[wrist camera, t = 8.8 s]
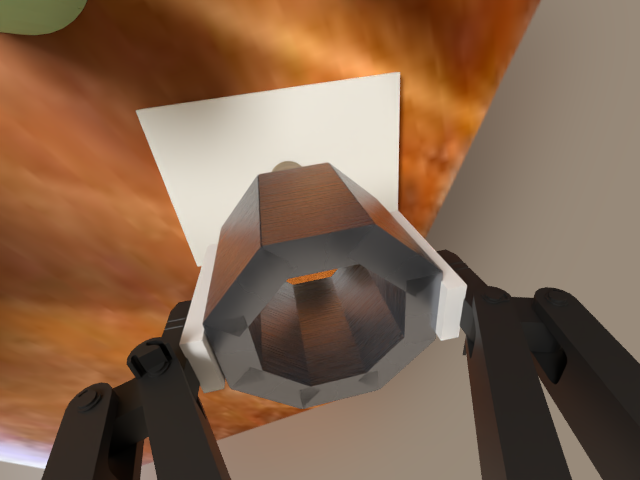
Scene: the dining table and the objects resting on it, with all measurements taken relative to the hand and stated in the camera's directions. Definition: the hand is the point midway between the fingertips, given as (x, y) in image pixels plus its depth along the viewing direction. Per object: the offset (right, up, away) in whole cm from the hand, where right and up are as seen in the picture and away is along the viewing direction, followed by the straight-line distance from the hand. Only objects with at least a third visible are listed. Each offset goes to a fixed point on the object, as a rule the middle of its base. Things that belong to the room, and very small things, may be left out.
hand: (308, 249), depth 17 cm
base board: (-2, +6, +11) cm, 12 cm away
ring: (0, 0, +1) cm, 1 cm away
